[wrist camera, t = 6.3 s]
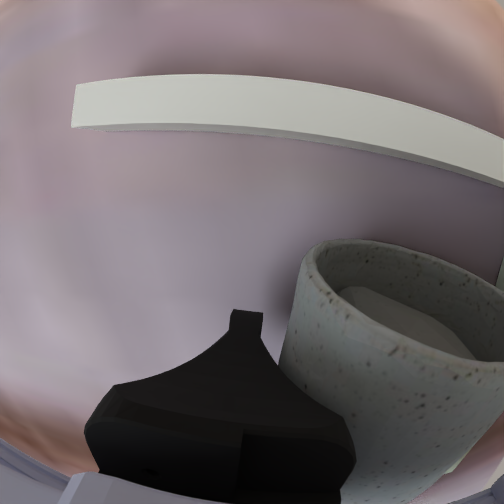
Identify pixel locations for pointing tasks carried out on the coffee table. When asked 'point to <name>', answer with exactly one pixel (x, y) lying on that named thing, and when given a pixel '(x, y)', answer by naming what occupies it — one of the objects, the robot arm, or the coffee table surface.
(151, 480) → the robot arm
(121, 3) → the coffee table surface
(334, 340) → the ceramic mug
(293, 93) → the track rails
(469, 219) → the coffee table surface
